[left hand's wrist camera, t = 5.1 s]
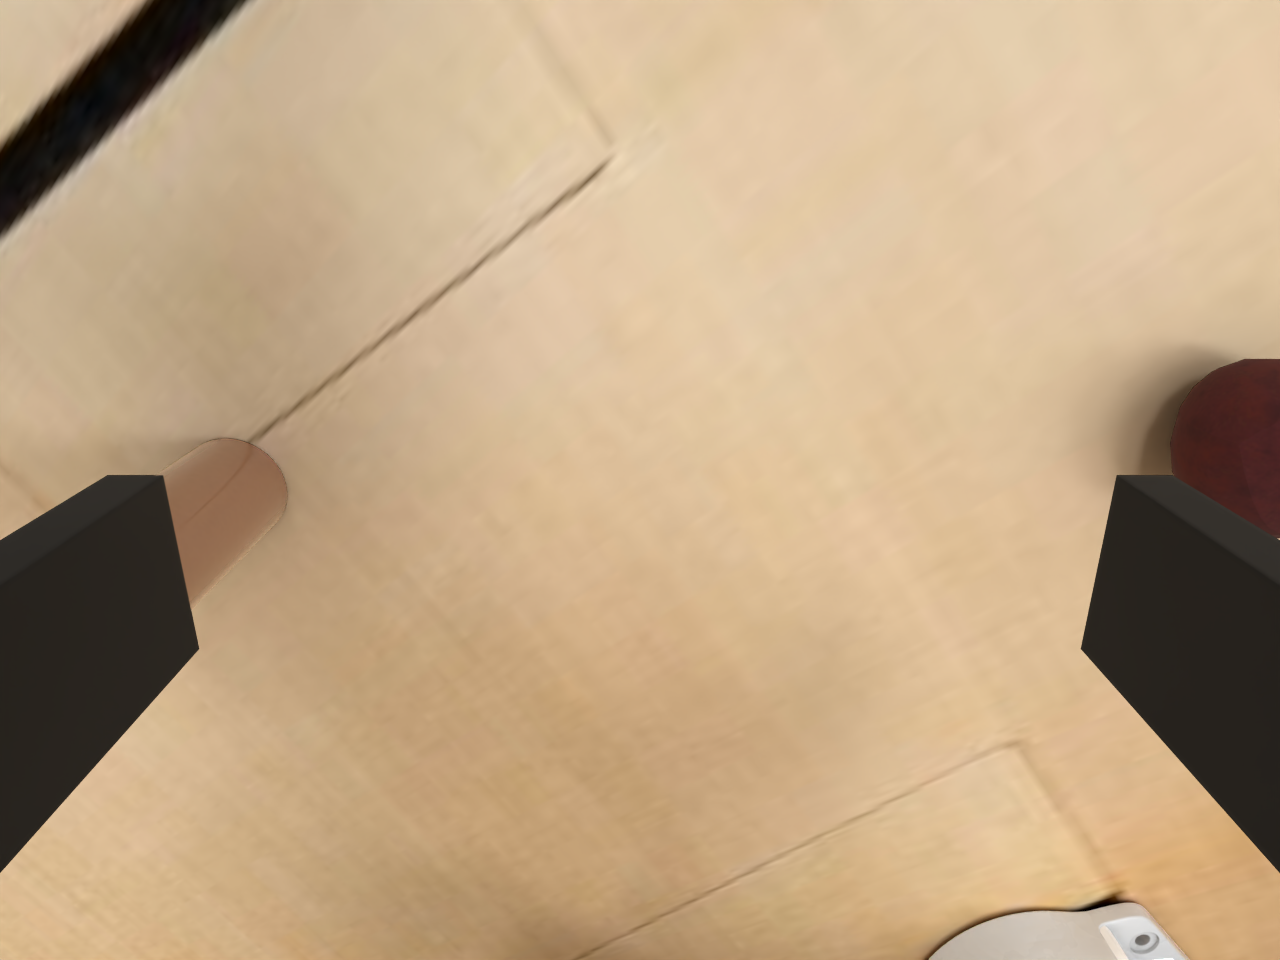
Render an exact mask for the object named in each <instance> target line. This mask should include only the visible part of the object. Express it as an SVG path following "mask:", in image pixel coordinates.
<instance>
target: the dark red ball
mask: <svg viewBox="0 0 1280 960" xmlns="http://www.w3.org/2000/svg"><path fill="white" fill-rule="evenodd" d="M1170 447H1171V461H1172V472H1173V474H1174V476H1175V477H1176V478H1178V479H1179V480H1181V481H1183V482H1184V483H1186V484H1188V485H1189V486H1191V487H1193V488H1194V489H1196V490H1198V491H1199V492H1201V493H1203V494H1204V495H1206V496H1208V497H1209V498H1211V499H1212V500H1214V501H1216V502H1217V503H1219V504H1221V505H1222V506H1224V507H1226V508H1227V509H1229V510H1231V511H1232V512H1234V513H1236V514H1237V515H1239V516H1241V517H1242V518H1244V519H1245V520H1247V521H1249V522H1250V523H1252V524H1254V525H1255V526H1257V527H1259V528H1260V529H1262V530H1264V531H1265V532H1267V533H1269V534H1270V535H1272V536H1274V537H1275V538H1280V359H1243V360H1241V361H1238V362H1235V363H1232V364H1229V365H1227V366H1224V367H1221V368H1218V369H1216V370H1214V371H1213V372H1211V373H1210V374H1209V375H1207V376H1206V377H1205V378H1204V379H1203V380H1201V381H1200V382H1199V383H1198V384H1196V385H1195V386H1194V387H1193V388H1192V390H1191V391H1190V393H1189V394H1188V396H1187V397H1186V399H1185V400H1184V402H1183V403H1182V405H1181V406H1180V409H1179V413H1178V416H1177V420H1176V423H1175V427H1174V430H1173V434H1172V438H1171V442H1170Z"/></svg>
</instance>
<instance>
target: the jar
mask: <svg viewBox="0 0 1280 960" xmlns="http://www.w3.org/2000/svg"><path fill="white" fill-rule="evenodd" d="M156 475H163V477H164V481H165V486H166V491H167V496H168V501H169V506H170V510H171V515H172V520H173V525H174V530H175V535H176V539H177V544H178V549H179V554H180V559H181V564H182V568H183V573H184V578H185V583H186V588H187V593H188V597H189V602H190V607H191V610H192V609H193V608H194V607H195V606H196V605H197V604H198V603H199V602H200V600H201V599H202V598H203V597H204V596H205V595H206V594H207V593H208V592H209V591H210V590H211V589H212V588H213V587H214V586H215V585H216V584H217V583H218V582H219V581H220V580H221V579H222V578H223V577H224V576H225V575H226V574H227V573H228V572H229V571H230V570H231V569H232V568H233V567H234V566H235V565H236V564H237V563H238V562H239V561H240V560H241V559H242V558H243V557H244V556H245V555H246V554H247V553H248V552H249V551H250V550H251V549H252V547H253V546H254V545H255V544H256V543H257V542H258V541H259V540H260V539H261V538H262V537H263V536H264V535H265V534H266V533H267V532H268V531H269V530H270V529H271V528H272V527H273V526H274V525H275V524H276V523H277V522H278V521H279V519H280V518H281V516H282V515H283V512H284V510H285V507H286V503H287V488H286V483H285V480H284V477H283V475H282V473H281V471H280V469H279V468H278V466H277V465H276V463H275V462H274V461H273V460H272V459H271V458H270V457H269V456H268V455H267V454H266V453H265V452H263V451H262V450H261V449H259V448H257V447H256V446H254V445H251V444H249V443H247V442H244V441H240V440H236V439H215V440H211V441H208V442H205V443H203V444H201V445H200V446H198V447H197V448H195V449H194V450H192V451H191V452H189V453H188V454H186V455H185V456H183V457H182V458H180V459H179V460H177V461H176V462H174V463H173V464H171V465H169V466H168V467H166V468H165V469H163V470H162V471H160V472H159V473H157V474H156Z"/></svg>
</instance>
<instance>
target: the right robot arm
mask: <svg viewBox="0 0 1280 960" xmlns="http://www.w3.org/2000/svg"><path fill="white" fill-rule="evenodd" d="M928 960H1190V959H1189V958H1188V957H1187V956H1186V954H1185V953H1184V952H1183V951H1182V950H1181V949H1180V948H1179V946H1178V945H1177V944H1176V943H1175V942H1174V941H1173V940H1172V938H1171V937H1170V936H1169V935H1168V934H1167V933H1166V932H1165V930H1164V929H1163V928H1162V927H1161V926H1160V925H1159V924H1158V922H1157V921H1156V920H1155V919H1154V918H1153V917H1152V915H1151V914H1150V913H1149V912H1148V911H1147V910H1146V909H1145V908H1144V907H1143V906H1141V905H1140V904H1137V903H1119V904H1114V905H1109V906H1105V907H1101V908H1097V909H1093V910H1090V911H1084V912H1064V911H1031V912H1022V913H1016V914H1011V915H1006V916H1002V917H999V918H995V919H992V920H989V921H986V922H984V923H981V924H979V925H976V926H974V927H972V928H970V929H968V930H966V931H964V932H962V933H961V934H959V935H957V936H956V937H954V938H953V939H951V940H950V941H948V942H947V943H946V944H944V945H943V946H942V947H941V948H940V949H938V950H937V951H936V952H935V953H934V954H933V955H932V956H931V957H930V958H929V959H928Z"/></svg>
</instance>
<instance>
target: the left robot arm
mask: <svg viewBox="0 0 1280 960" xmlns="http://www.w3.org/2000/svg"><path fill="white" fill-rule="evenodd" d="M198 650H199V646H198V641H197V636H196V631H195V626H194V622H193V617H192V612H191V607H190V602H189V597H188V593H187V588H186V583H185V578H184V573H183V568H182V564H181V559H180V554H179V549H178V544H177V539H176V535H175V530H174V525H173V520H172V515H171V510H170V506H169V501H168V496H167V491H166V486H165V481H164V477H163V475H107V476H105V477H104V478H102V479H100V480H99V481H97V482H96V483H94V484H92V485H91V486H89V487H87V488H86V489H84V490H82V491H81V492H79V493H77V494H76V495H74V496H72V497H71V498H69V499H68V500H66V501H64V502H63V503H61V504H59V505H58V506H56V507H54V508H53V509H51V510H49V511H48V512H46V513H44V514H43V515H41V516H39V517H38V518H36V519H35V520H33V521H31V522H30V523H28V524H26V525H25V526H23V527H21V528H20V529H18V530H16V531H15V532H13V533H11V534H10V535H8V536H6V537H5V538H3V539H2V540H0V873H1V871H2V870H3V869H4V868H5V867H6V866H7V865H8V864H9V862H10V861H11V860H12V859H13V858H14V857H15V856H16V855H17V853H18V852H19V851H20V850H21V849H22V848H23V847H24V845H25V844H26V843H27V842H28V841H29V840H30V839H31V838H32V836H33V835H34V834H35V833H36V832H37V831H38V830H39V829H40V827H41V826H42V825H43V824H44V823H45V822H46V821H47V820H48V818H49V817H50V816H51V815H52V814H53V813H54V812H55V811H56V809H57V808H58V807H59V806H60V805H61V804H62V803H63V802H64V800H65V799H66V798H67V797H68V796H69V795H70V794H71V793H72V791H73V790H74V789H75V788H76V787H77V786H78V785H79V784H80V782H81V781H82V780H83V779H84V778H85V777H86V776H87V775H88V773H89V772H90V771H91V770H92V769H93V768H94V767H95V766H96V764H97V763H98V762H99V761H100V760H101V759H102V758H103V757H104V755H105V754H106V753H107V752H108V751H109V750H110V749H111V748H112V746H113V745H114V744H115V743H116V742H117V741H118V740H119V739H120V737H121V736H122V735H123V734H124V733H125V732H126V731H127V730H128V728H129V727H130V726H131V725H132V724H133V723H134V722H135V721H136V719H137V718H138V717H139V716H140V715H141V714H142V713H143V712H144V710H145V709H146V708H147V707H148V706H149V705H150V704H151V703H152V701H153V700H154V699H155V698H156V697H157V696H158V695H159V693H160V692H161V691H162V690H163V689H164V688H165V687H166V686H167V684H168V683H169V682H170V681H171V680H172V679H173V678H174V677H175V675H176V674H177V673H178V672H179V671H180V670H181V669H182V668H183V666H184V665H185V664H186V663H187V662H188V661H189V660H190V659H191V657H192V656H193V655H194V654H195V653H196V652H197V651H198ZM1081 650H1082V651H1083V652H1084V653H1085V654H1086V655H1087V656H1088V657H1089V659H1090V660H1091V661H1092V662H1093V663H1094V664H1095V665H1096V666H1097V668H1098V669H1099V670H1100V671H1101V672H1102V673H1103V674H1104V675H1105V677H1106V678H1107V679H1108V680H1109V681H1110V682H1111V683H1112V684H1113V686H1114V687H1115V688H1116V689H1117V690H1118V691H1119V692H1120V693H1121V695H1122V696H1123V697H1124V698H1125V699H1126V700H1127V701H1128V703H1129V704H1130V705H1131V706H1132V707H1133V708H1134V709H1135V710H1136V712H1137V713H1138V714H1139V715H1140V716H1141V717H1142V718H1143V719H1144V721H1145V722H1146V723H1147V724H1148V725H1149V726H1150V727H1151V728H1152V730H1153V731H1154V732H1155V733H1156V734H1157V735H1158V736H1159V737H1160V739H1161V740H1162V741H1163V742H1164V743H1165V744H1166V745H1167V746H1168V748H1169V749H1170V750H1171V751H1172V752H1173V753H1174V754H1175V755H1176V757H1177V758H1178V759H1179V760H1180V761H1181V762H1182V763H1183V764H1184V766H1185V767H1186V768H1187V769H1188V770H1189V771H1190V772H1191V773H1192V775H1193V776H1194V777H1195V778H1196V779H1197V780H1198V781H1199V782H1200V784H1201V785H1202V786H1203V787H1204V788H1205V789H1206V790H1207V791H1208V793H1209V794H1210V795H1211V796H1212V797H1213V798H1214V799H1215V800H1216V802H1217V803H1218V804H1219V805H1220V806H1221V807H1222V808H1223V809H1224V811H1225V812H1226V813H1227V814H1228V815H1229V816H1230V817H1231V818H1232V820H1233V821H1234V822H1235V823H1236V824H1237V825H1238V826H1239V827H1240V829H1241V830H1242V831H1243V832H1244V833H1245V834H1246V835H1247V836H1248V838H1249V839H1250V840H1251V841H1252V842H1253V843H1254V844H1255V845H1256V847H1257V848H1258V849H1259V850H1260V851H1261V852H1262V853H1263V855H1264V856H1265V857H1266V858H1267V859H1268V860H1269V861H1270V862H1271V864H1272V865H1273V866H1274V867H1275V868H1276V869H1277V870H1278V871H1279V873H1280V540H1278V539H1277V538H1275V537H1274V536H1272V535H1270V534H1269V533H1267V532H1265V531H1264V530H1262V529H1260V528H1259V527H1257V526H1255V525H1254V524H1252V523H1250V522H1249V521H1247V520H1245V519H1244V518H1242V517H1241V516H1239V515H1237V514H1236V513H1234V512H1232V511H1231V510H1229V509H1227V508H1226V507H1224V506H1222V505H1221V504H1219V503H1217V502H1216V501H1214V500H1212V499H1211V498H1209V497H1208V496H1206V495H1204V494H1203V493H1201V492H1199V491H1198V490H1196V489H1194V488H1193V487H1191V486H1189V485H1188V484H1186V483H1184V482H1183V481H1181V480H1179V479H1178V478H1176V477H1175V476H1173V475H1117V477H1116V481H1115V486H1114V491H1113V496H1112V501H1111V506H1110V510H1109V515H1108V520H1107V525H1106V530H1105V535H1104V539H1103V544H1102V549H1101V554H1100V559H1099V564H1098V568H1097V573H1096V578H1095V583H1094V588H1093V593H1092V597H1091V602H1090V607H1089V612H1088V617H1087V621H1086V626H1085V631H1084V636H1083V641H1082V646H1081Z"/></svg>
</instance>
